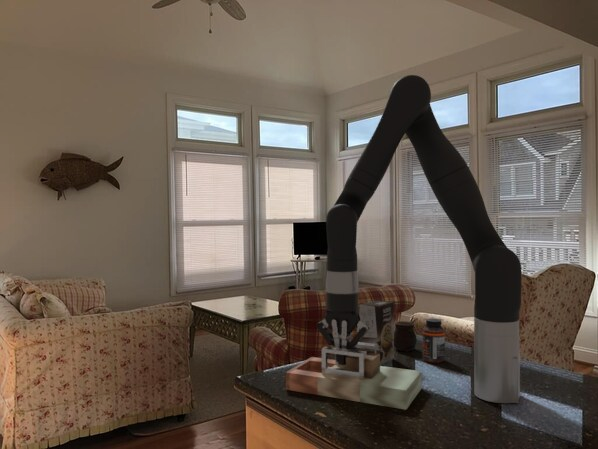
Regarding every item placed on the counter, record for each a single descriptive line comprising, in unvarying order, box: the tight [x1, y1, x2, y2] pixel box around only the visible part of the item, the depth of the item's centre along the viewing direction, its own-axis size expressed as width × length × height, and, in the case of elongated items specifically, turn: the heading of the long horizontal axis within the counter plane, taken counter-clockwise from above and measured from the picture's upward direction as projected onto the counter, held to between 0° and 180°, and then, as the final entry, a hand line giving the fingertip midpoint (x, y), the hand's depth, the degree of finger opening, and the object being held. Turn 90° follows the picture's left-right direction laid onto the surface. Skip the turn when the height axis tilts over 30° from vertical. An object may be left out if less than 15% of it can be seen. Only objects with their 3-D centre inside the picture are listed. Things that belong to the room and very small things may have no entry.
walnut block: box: [346, 353, 380, 379], centre depth 113 cm, size 6×6×4 cm
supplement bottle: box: [422, 318, 446, 364], centre depth 137 cm, size 6×6×11 cm
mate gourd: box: [394, 317, 418, 352], centre depth 149 cm, size 7×8×10 cm
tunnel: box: [321, 342, 376, 380], centre depth 115 cm, size 10×9×6 cm
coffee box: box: [358, 299, 395, 366], centre depth 137 cm, size 9×6×16 cm
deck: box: [285, 356, 422, 411], centre depth 115 cm, size 28×14×4 cm, turn 64°
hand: (342, 364), depth 116 cm, fingers closed
